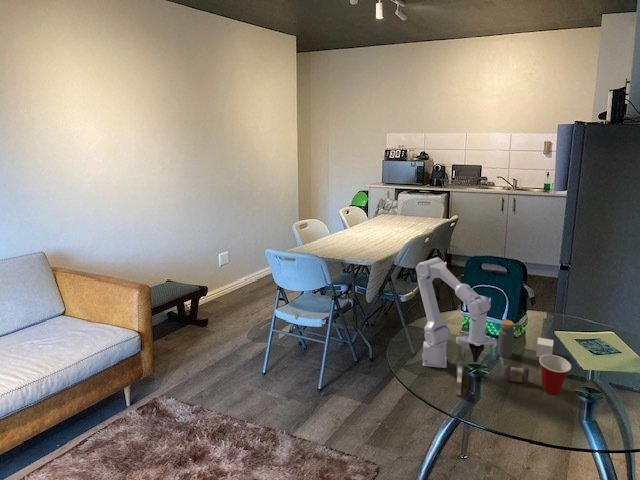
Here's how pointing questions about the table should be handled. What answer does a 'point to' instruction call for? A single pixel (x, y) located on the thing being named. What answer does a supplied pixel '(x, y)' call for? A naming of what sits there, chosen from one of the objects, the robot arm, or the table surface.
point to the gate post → (459, 363)
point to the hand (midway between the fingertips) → (475, 360)
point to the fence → (516, 374)
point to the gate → (459, 381)
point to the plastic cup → (553, 372)
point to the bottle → (506, 339)
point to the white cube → (544, 347)
